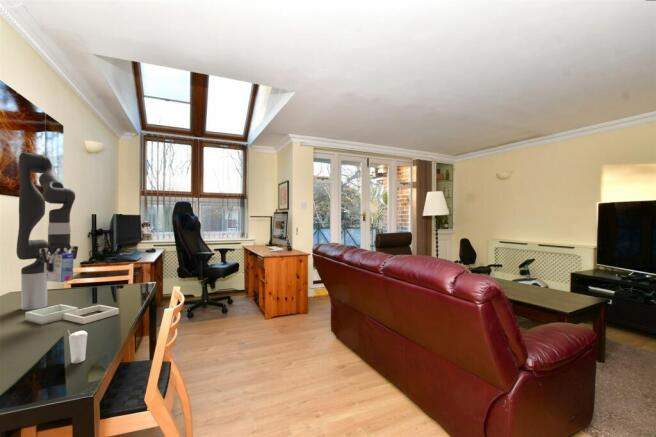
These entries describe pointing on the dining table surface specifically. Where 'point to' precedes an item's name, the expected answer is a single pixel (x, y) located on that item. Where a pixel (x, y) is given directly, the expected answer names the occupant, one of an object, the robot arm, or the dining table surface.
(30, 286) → the robot arm
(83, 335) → the milkshake
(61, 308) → the tray
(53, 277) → the ink cartridge box
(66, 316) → the white square frame
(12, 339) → the dining table surface
